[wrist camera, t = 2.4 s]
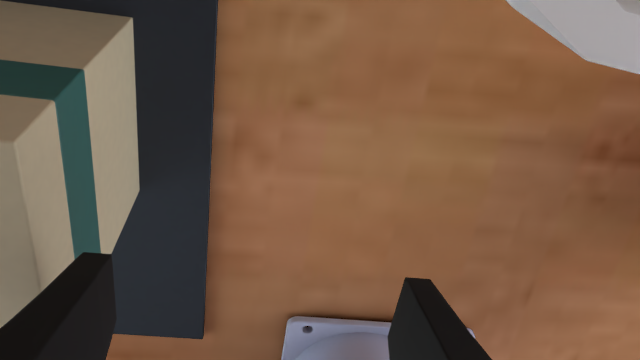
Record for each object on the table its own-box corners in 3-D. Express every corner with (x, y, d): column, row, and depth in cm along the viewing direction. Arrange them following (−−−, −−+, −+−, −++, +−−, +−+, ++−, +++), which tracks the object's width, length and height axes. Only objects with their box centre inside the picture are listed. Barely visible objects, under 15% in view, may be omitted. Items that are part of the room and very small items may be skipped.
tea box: (134, 16, 18) (16, 141, 10) (140, 191, 21) (57, 379, 14) (-10, -3, 17) (-248, 115, 10) (22, 180, 21) (-133, 370, 13)
